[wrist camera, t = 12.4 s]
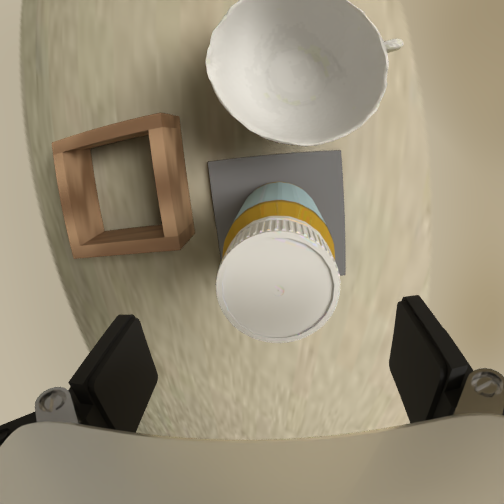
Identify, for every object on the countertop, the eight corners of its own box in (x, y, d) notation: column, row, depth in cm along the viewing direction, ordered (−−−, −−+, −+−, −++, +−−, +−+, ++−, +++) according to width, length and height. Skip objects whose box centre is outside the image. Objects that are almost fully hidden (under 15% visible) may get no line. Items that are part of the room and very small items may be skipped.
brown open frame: (80, 140, 29) (51, 142, 24) (179, 116, 28) (160, 112, 23) (98, 242, 33) (73, 258, 28) (195, 233, 31) (180, 249, 27)
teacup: (249, 161, 29) (238, 168, 21) (208, 40, 25) (184, 10, 17) (402, 122, 26) (440, 118, 19) (360, 4, 22) (382, -32, 15)
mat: (208, 161, 29) (207, 161, 28) (339, 150, 28) (340, 150, 27) (225, 281, 33) (224, 283, 32) (344, 273, 31) (345, 275, 31)
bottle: (329, 235, 30) (367, 319, 16) (262, 265, 31) (247, 366, 17) (297, 167, 28) (315, 195, 14) (228, 201, 30) (180, 260, 15)
